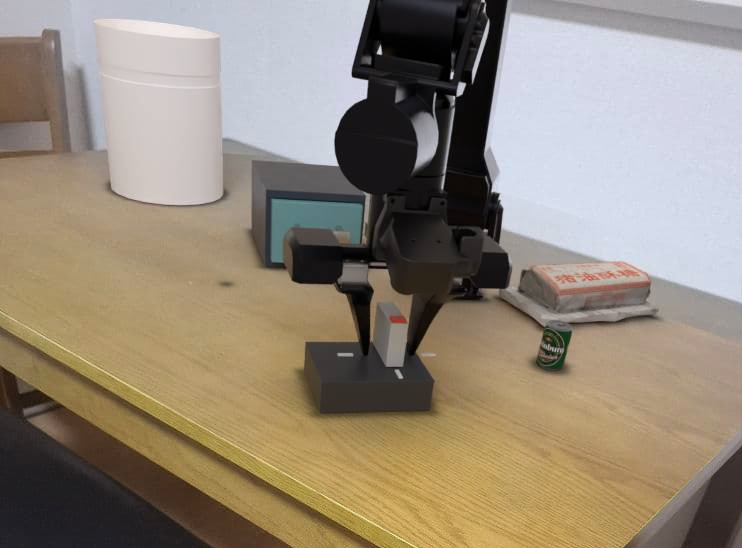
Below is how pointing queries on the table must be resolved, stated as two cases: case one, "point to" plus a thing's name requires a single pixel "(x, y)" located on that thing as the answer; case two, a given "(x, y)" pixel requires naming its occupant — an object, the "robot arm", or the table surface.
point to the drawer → (313, 220)
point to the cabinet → (294, 194)
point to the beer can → (554, 345)
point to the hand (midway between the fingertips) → (387, 354)
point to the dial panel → (365, 379)
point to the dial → (390, 334)
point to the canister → (161, 110)
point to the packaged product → (581, 292)
